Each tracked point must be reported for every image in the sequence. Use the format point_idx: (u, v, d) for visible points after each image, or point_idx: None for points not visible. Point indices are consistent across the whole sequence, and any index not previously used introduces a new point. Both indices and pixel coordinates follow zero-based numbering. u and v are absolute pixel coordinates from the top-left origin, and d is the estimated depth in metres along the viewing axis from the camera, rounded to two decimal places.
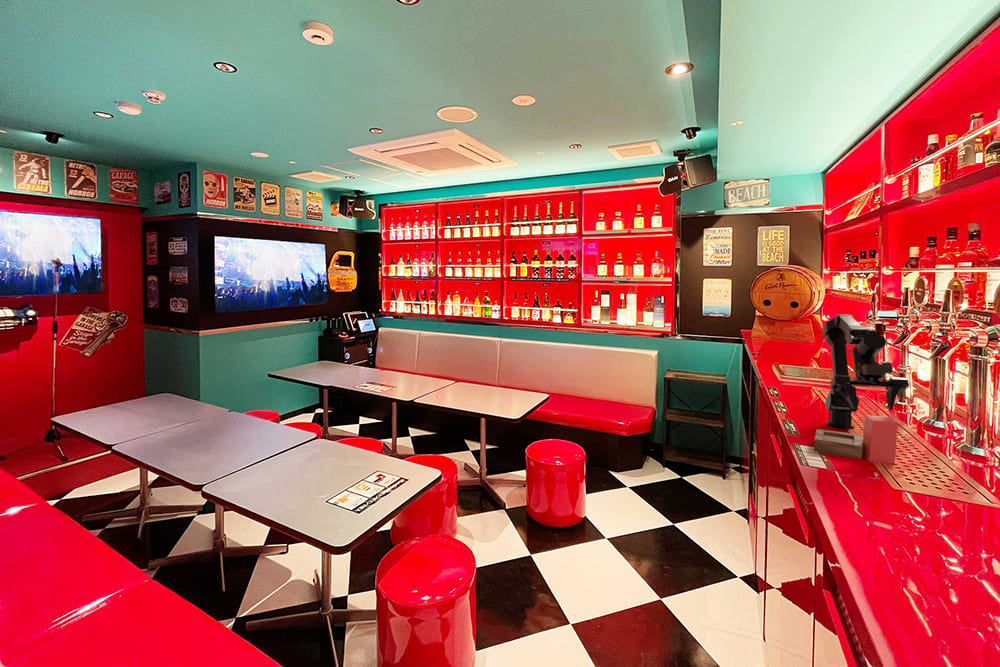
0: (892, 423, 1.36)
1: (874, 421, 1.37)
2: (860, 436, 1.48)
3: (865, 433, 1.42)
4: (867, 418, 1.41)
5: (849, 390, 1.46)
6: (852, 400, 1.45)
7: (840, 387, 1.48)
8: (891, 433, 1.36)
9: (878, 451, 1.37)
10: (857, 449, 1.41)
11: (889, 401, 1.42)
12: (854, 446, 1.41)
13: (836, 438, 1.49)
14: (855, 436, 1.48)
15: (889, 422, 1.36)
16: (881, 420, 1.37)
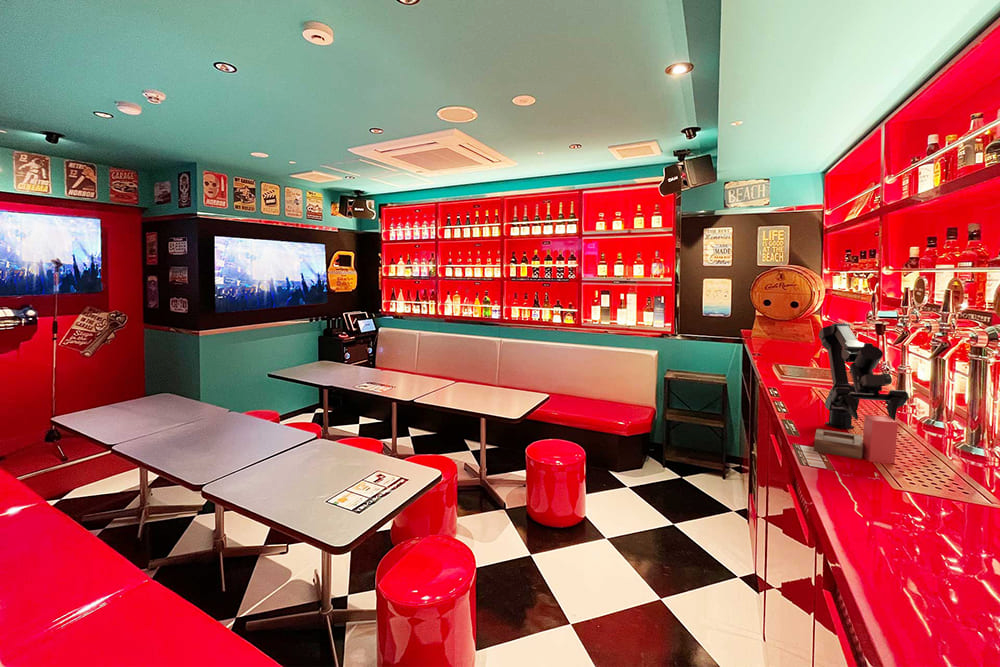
0: (892, 423, 1.36)
1: (874, 421, 1.37)
2: (860, 436, 1.48)
3: (865, 433, 1.42)
4: (867, 418, 1.41)
5: (851, 401, 1.46)
6: (854, 411, 1.45)
7: (841, 399, 1.49)
8: (891, 433, 1.36)
9: (878, 451, 1.37)
10: (857, 449, 1.41)
11: (891, 413, 1.43)
12: (854, 446, 1.41)
13: (836, 438, 1.49)
14: (855, 436, 1.48)
15: (889, 422, 1.36)
16: (881, 420, 1.37)
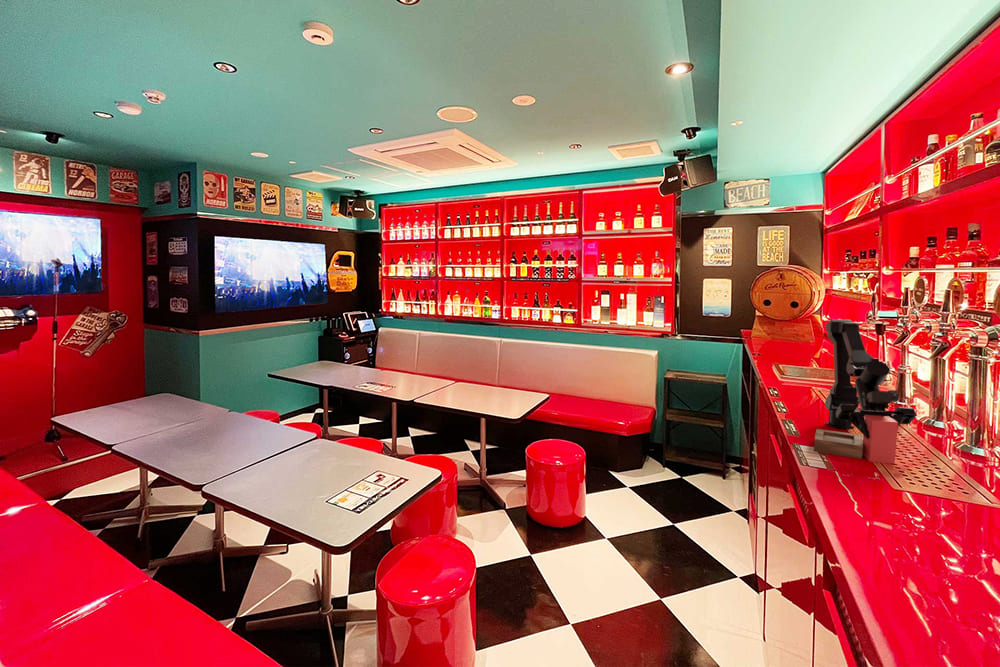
0: (892, 423, 1.36)
1: (874, 421, 1.37)
2: (860, 436, 1.48)
3: None
4: (867, 418, 1.41)
5: (861, 419, 1.42)
6: (865, 429, 1.40)
7: (852, 417, 1.44)
8: (891, 433, 1.36)
9: (878, 451, 1.37)
10: (857, 449, 1.41)
11: None
12: (854, 446, 1.41)
13: (836, 438, 1.49)
14: (855, 436, 1.48)
15: (889, 422, 1.36)
16: (881, 420, 1.37)
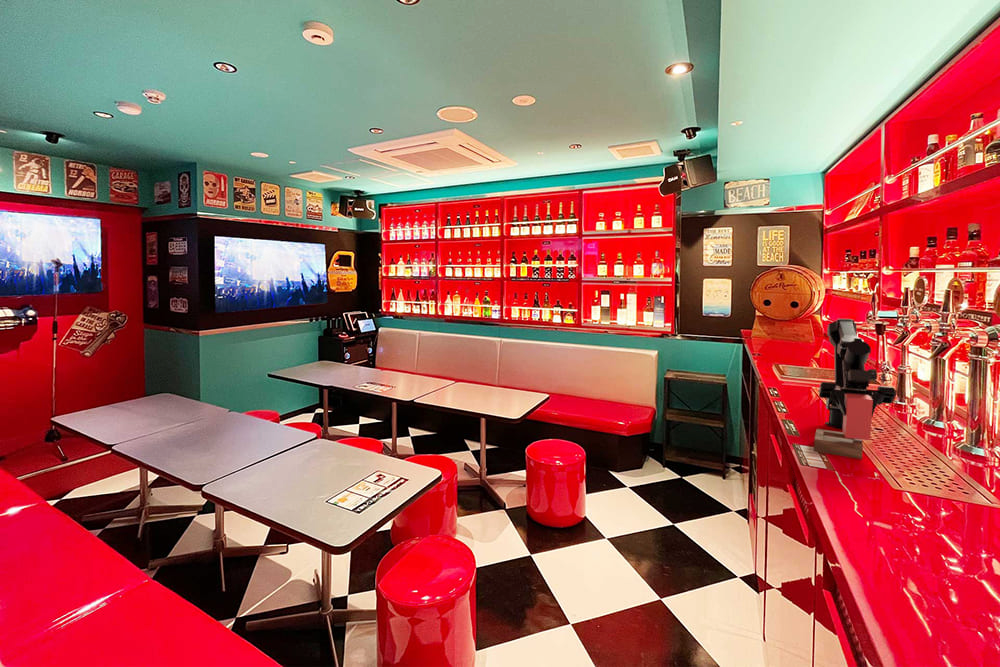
0: (867, 401, 1.39)
1: (849, 398, 1.41)
2: None
3: None
4: (845, 396, 1.45)
5: (840, 397, 1.46)
6: (843, 407, 1.44)
7: (832, 394, 1.48)
8: (866, 410, 1.40)
9: (854, 427, 1.42)
10: (857, 449, 1.41)
11: None
12: (854, 446, 1.41)
13: (836, 438, 1.49)
14: None
15: (864, 399, 1.40)
16: (857, 398, 1.41)
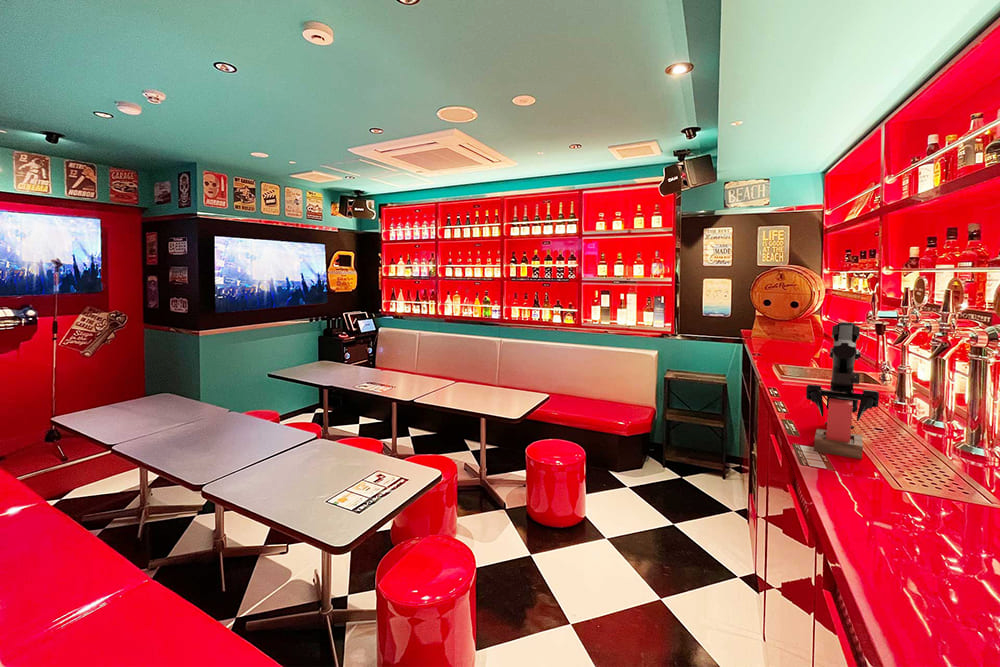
0: (847, 406, 1.44)
1: (830, 403, 1.46)
2: (860, 436, 1.48)
3: None
4: None
5: (819, 398, 1.51)
6: (821, 408, 1.50)
7: (812, 396, 1.53)
8: (846, 415, 1.44)
9: (834, 431, 1.46)
10: (857, 449, 1.41)
11: (858, 412, 1.45)
12: (854, 446, 1.41)
13: None
14: (855, 436, 1.48)
15: (844, 404, 1.44)
16: (838, 402, 1.46)
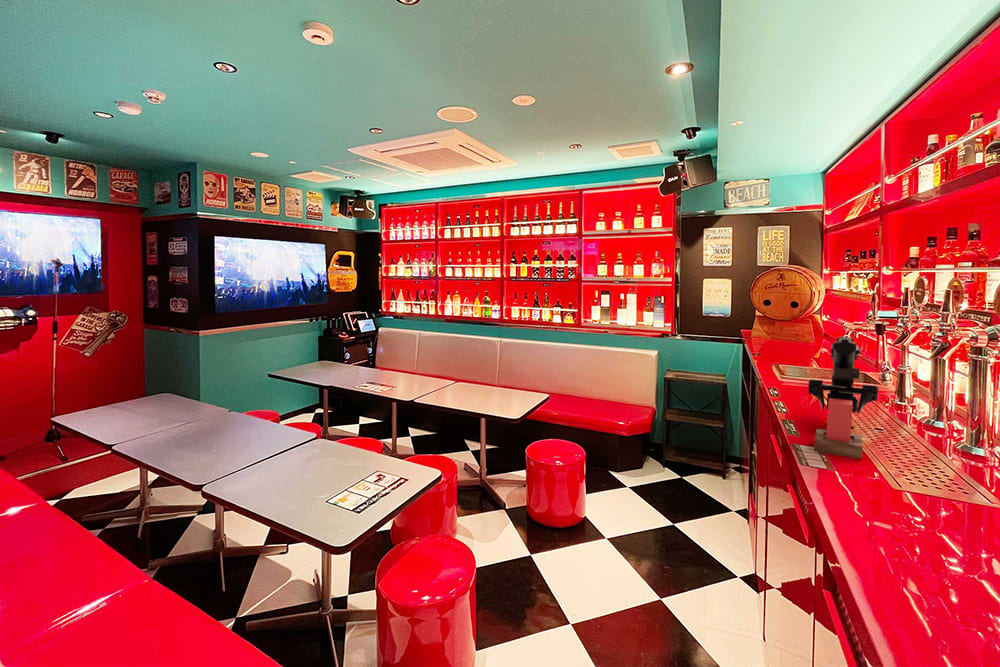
0: (847, 406, 1.44)
1: (830, 403, 1.46)
2: (860, 436, 1.48)
3: None
4: None
5: (821, 393, 1.58)
6: (822, 401, 1.57)
7: (814, 390, 1.61)
8: (846, 415, 1.44)
9: (834, 431, 1.46)
10: (857, 449, 1.41)
11: (858, 405, 1.52)
12: (854, 446, 1.41)
13: None
14: (855, 436, 1.48)
15: (844, 404, 1.44)
16: (838, 402, 1.46)
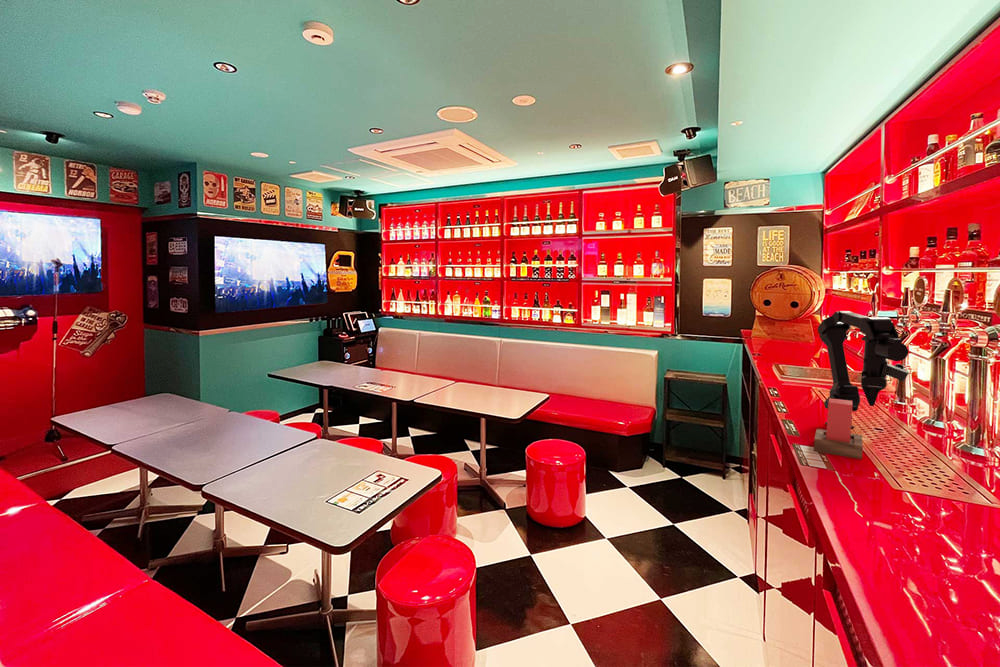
0: (847, 406, 1.44)
1: (830, 403, 1.46)
2: (860, 436, 1.48)
3: None
4: None
5: None
6: (875, 399, 1.49)
7: None
8: (846, 415, 1.44)
9: (834, 431, 1.46)
10: (857, 449, 1.41)
11: None
12: (854, 446, 1.41)
13: None
14: (855, 436, 1.48)
15: (844, 404, 1.44)
16: (838, 402, 1.46)
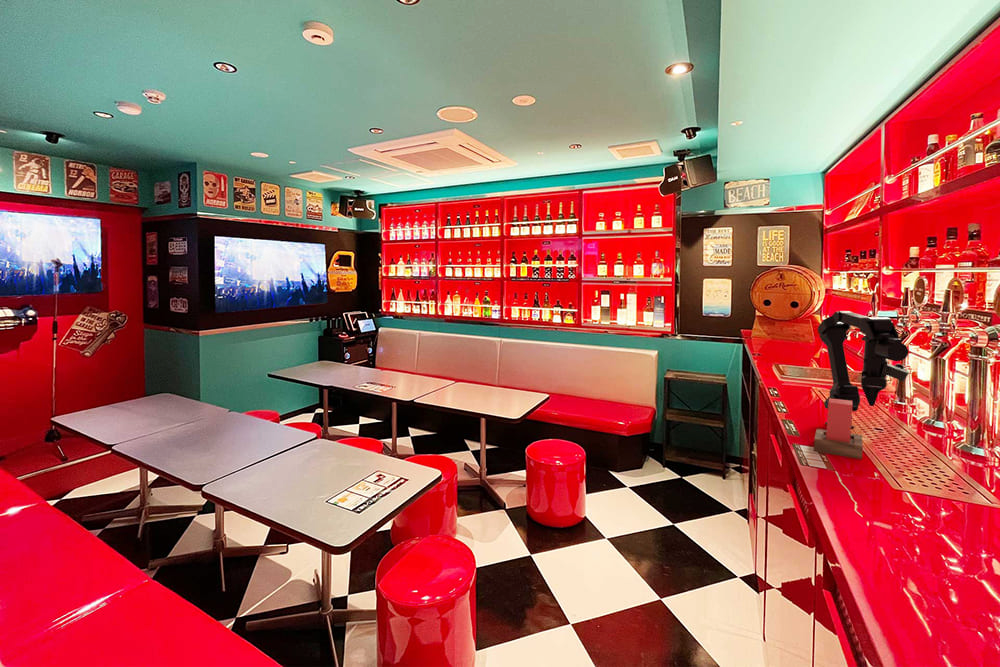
0: (847, 406, 1.44)
1: (830, 403, 1.46)
2: (860, 436, 1.48)
3: None
4: None
5: None
6: (875, 399, 1.49)
7: None
8: (846, 415, 1.44)
9: (834, 431, 1.46)
10: (857, 449, 1.41)
11: None
12: (854, 446, 1.41)
13: None
14: (855, 436, 1.48)
15: (844, 404, 1.44)
16: (838, 402, 1.46)
